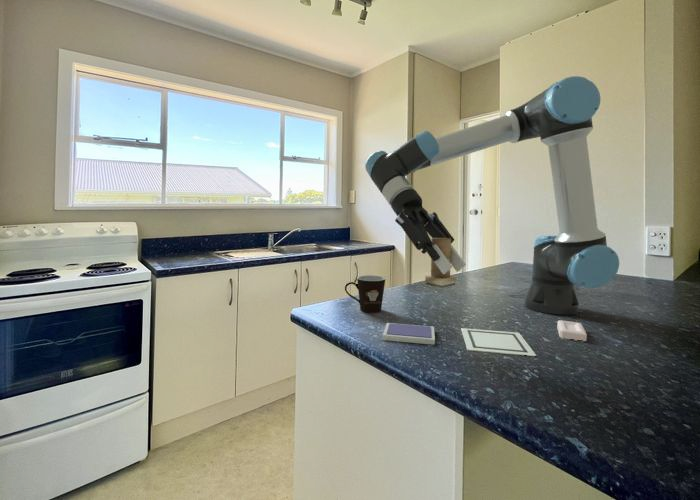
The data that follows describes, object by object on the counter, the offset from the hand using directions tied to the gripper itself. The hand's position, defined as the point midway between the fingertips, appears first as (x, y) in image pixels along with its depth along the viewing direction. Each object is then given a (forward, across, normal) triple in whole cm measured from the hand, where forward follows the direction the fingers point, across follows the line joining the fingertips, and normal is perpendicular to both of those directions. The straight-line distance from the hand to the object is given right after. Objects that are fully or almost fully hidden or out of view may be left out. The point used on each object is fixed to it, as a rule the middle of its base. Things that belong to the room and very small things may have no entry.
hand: (454, 269), depth 78 cm
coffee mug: (-10, -1, -35) cm, 36 cm away
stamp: (0, 0, -6) cm, 6 cm away
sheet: (+16, -9, -8) cm, 20 cm away
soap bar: (+23, -29, -3) cm, 37 cm away
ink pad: (+6, +5, -19) cm, 20 cm away
